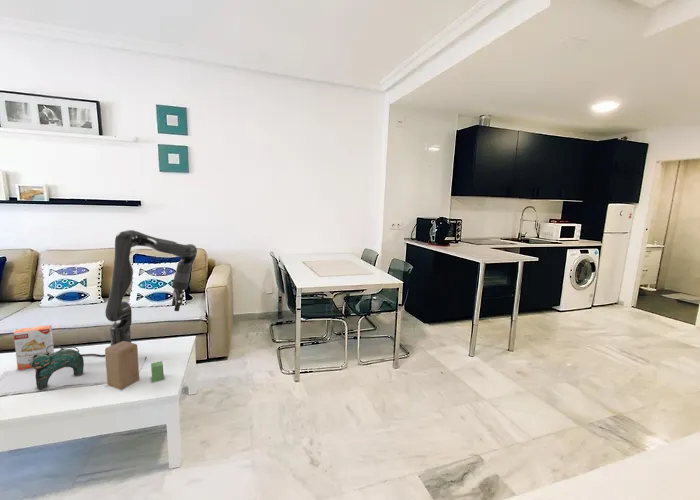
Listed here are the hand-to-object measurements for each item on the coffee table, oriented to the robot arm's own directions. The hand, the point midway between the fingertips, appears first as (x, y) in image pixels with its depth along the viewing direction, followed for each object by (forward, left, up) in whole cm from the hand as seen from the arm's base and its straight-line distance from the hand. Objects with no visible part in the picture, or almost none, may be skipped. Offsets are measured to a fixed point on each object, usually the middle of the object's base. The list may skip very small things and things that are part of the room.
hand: (175, 308), depth 181 cm
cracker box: (-64, -33, -33) cm, 79 cm away
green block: (+3, -15, -33) cm, 36 cm away
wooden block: (-8, -25, -33) cm, 42 cm away
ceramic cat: (-37, -37, -33) cm, 62 cm away
